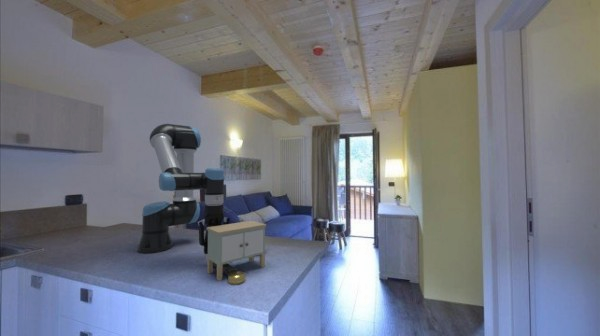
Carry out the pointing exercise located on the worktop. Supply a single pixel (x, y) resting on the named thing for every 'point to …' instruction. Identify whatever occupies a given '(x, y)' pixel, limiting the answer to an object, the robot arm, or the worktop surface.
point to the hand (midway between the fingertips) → (213, 259)
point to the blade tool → (226, 268)
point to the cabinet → (235, 244)
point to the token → (236, 278)
